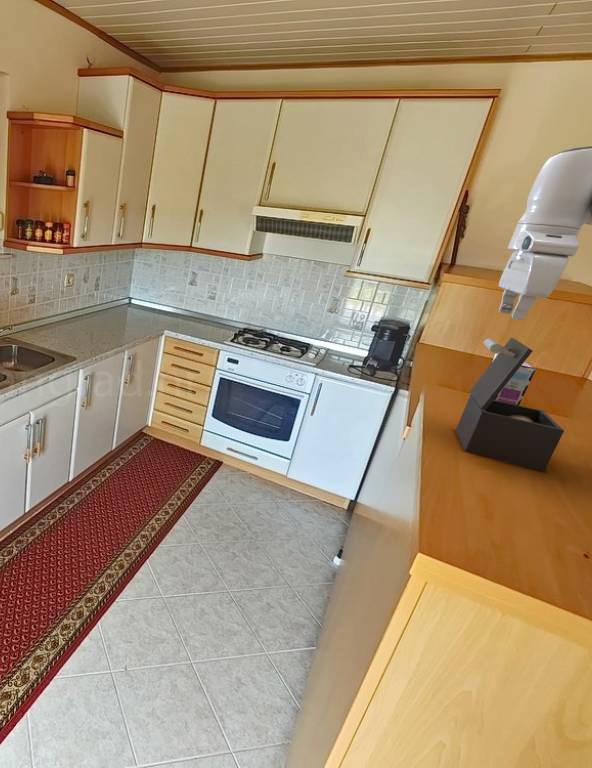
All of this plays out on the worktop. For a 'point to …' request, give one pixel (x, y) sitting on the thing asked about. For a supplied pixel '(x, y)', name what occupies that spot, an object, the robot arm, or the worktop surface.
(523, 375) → the candy bar box
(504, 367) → the grey lid with handle
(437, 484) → the worktop surface
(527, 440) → the grey hinged lid box
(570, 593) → the worktop surface
